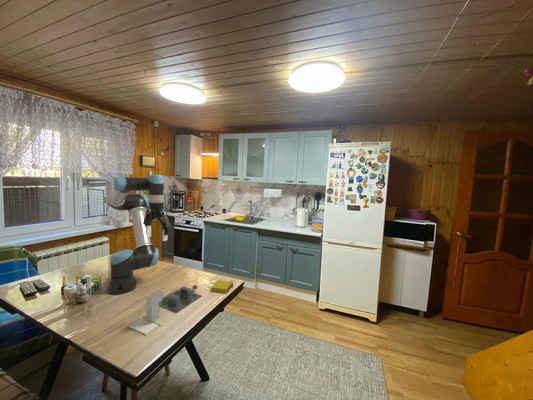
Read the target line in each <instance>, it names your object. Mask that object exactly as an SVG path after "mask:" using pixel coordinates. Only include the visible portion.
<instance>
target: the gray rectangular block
mask: <svg viewBox="0 0 533 400" xmlns="http://www.w3.org/2000/svg"><path fill="white" fill-rule="evenodd" d="M163 297H165V292H164V291H161V290H155V291H154V292H152V293H150V294H148V295H146V296H145V318H146V321H147V322H149V323H151V324H152V323H154V322H156V321H158V320H159V319H160V307H159V302H160V300H162V298H163Z"/></svg>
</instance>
